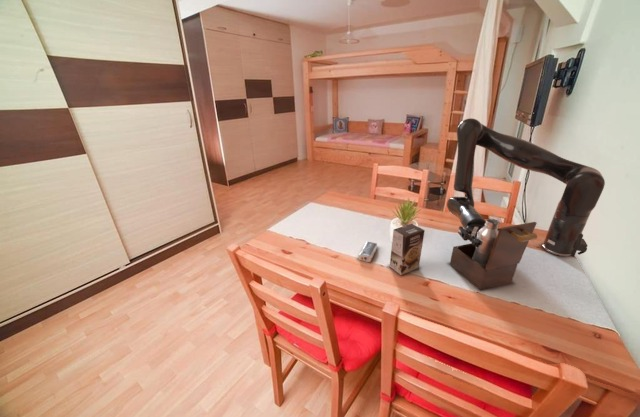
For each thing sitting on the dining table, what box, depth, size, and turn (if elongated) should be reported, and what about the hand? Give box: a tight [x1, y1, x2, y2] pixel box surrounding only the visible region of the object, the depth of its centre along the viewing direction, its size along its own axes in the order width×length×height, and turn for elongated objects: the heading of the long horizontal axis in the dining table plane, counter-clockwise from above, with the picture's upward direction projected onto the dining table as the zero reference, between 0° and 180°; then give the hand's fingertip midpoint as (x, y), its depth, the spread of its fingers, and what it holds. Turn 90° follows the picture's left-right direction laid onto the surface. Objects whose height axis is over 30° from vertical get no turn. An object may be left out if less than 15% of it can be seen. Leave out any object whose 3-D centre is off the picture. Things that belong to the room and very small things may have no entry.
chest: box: [449, 242, 518, 291], centre depth 92 cm, size 15×13×8 cm
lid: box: [485, 221, 538, 270], centre depth 78 cm, size 15×13×5 cm
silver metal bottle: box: [472, 218, 500, 268], centre depth 89 cm, size 6×7×20 cm
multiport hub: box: [358, 241, 378, 263], centre depth 106 cm, size 4×11×2 cm, turn 154°
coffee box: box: [389, 223, 426, 276], centre depth 95 cm, size 9×6×16 cm
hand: (489, 245), depth 86 cm, fingers closed on silver metal bottle, 6 cm apart
